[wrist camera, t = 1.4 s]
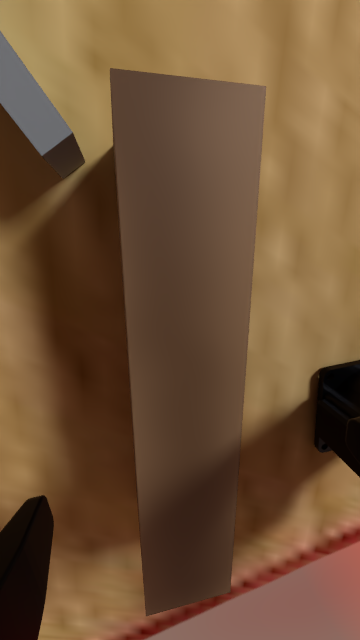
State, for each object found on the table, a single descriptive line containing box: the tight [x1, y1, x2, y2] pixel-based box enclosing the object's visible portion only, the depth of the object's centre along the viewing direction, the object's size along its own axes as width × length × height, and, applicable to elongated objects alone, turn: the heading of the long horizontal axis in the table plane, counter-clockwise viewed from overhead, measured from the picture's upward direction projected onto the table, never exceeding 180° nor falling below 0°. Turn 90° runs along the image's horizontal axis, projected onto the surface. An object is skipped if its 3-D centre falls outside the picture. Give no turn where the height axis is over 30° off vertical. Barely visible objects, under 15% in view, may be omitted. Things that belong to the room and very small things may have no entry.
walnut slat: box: [110, 68, 266, 616], centre depth 13 cm, size 4×20×6 cm, turn 1°
